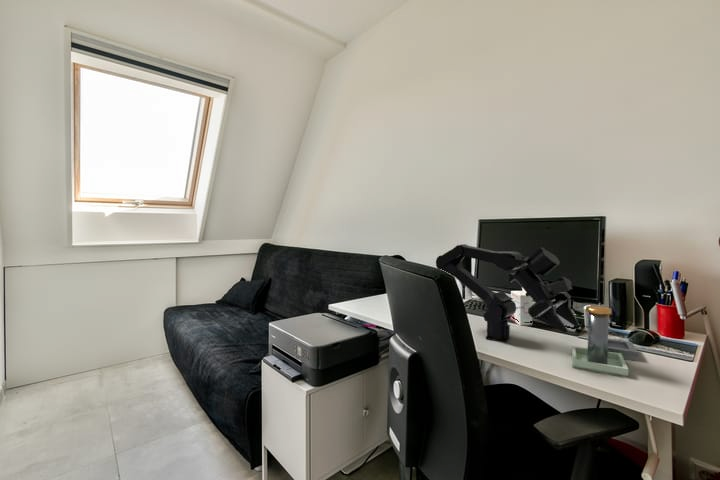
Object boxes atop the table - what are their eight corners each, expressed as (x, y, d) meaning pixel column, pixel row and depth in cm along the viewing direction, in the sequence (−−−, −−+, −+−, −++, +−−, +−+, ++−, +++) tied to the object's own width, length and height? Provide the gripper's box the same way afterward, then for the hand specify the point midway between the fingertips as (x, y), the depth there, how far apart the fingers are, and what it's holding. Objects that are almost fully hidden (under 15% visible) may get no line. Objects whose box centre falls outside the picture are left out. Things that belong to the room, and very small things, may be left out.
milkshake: (604, 332, 117) (604, 304, 117) (588, 332, 117) (589, 304, 117) (595, 328, 122) (595, 301, 121) (580, 328, 122) (580, 301, 121)
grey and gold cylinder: (581, 361, 92) (582, 307, 91) (590, 356, 95) (591, 304, 94) (604, 368, 87) (606, 312, 86) (613, 363, 90) (615, 308, 89)
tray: (573, 367, 89) (573, 359, 89) (571, 353, 99) (571, 346, 99) (628, 377, 83) (628, 369, 83) (620, 361, 93) (621, 353, 93)
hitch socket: (595, 354, 98) (596, 346, 98) (593, 344, 106) (593, 336, 106) (637, 361, 93) (637, 352, 93) (631, 349, 101) (631, 341, 101)
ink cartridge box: (509, 319, 135) (510, 283, 134) (522, 319, 135) (522, 283, 134) (519, 325, 126) (520, 287, 126) (532, 325, 126) (533, 287, 125)
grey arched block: (582, 329, 121) (577, 305, 119) (574, 336, 119) (569, 311, 117) (539, 318, 136) (534, 296, 134) (532, 323, 134) (526, 301, 132)
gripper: (540, 271, 92) (585, 319, 85) (564, 265, 104) (605, 307, 97) (511, 295, 99) (551, 341, 91) (537, 286, 111) (574, 327, 103)
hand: (572, 328), depth 95 cm, fingers open, 9 cm apart
